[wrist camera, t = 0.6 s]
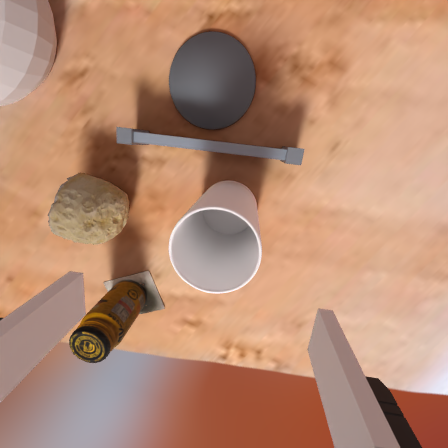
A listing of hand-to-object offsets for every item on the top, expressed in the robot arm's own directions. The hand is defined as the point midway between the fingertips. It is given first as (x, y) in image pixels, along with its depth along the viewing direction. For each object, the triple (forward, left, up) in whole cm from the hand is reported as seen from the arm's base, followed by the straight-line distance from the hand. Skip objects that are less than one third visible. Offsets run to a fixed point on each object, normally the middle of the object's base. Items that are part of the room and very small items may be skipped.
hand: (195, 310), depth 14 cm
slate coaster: (-4, +16, -24) cm, 29 cm away
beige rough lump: (-18, -2, -25) cm, 31 cm away
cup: (0, 0, -25) cm, 25 cm away
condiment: (-14, -17, -25) cm, 33 cm away
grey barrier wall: (-3, +8, -24) cm, 26 cm away
